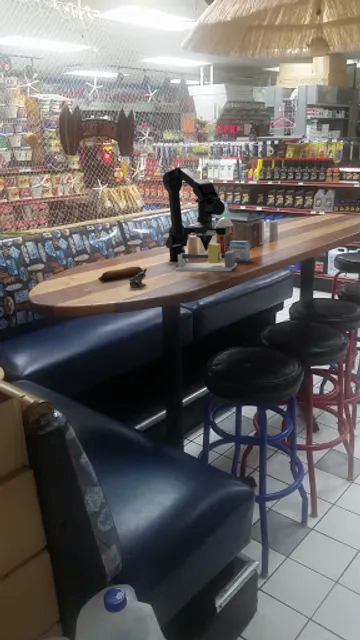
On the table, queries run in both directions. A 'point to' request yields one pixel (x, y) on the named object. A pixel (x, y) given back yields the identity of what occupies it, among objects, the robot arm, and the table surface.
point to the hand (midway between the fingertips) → (206, 250)
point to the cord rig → (226, 266)
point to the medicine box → (241, 250)
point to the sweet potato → (120, 273)
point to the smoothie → (227, 238)
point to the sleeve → (214, 252)
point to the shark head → (138, 279)
